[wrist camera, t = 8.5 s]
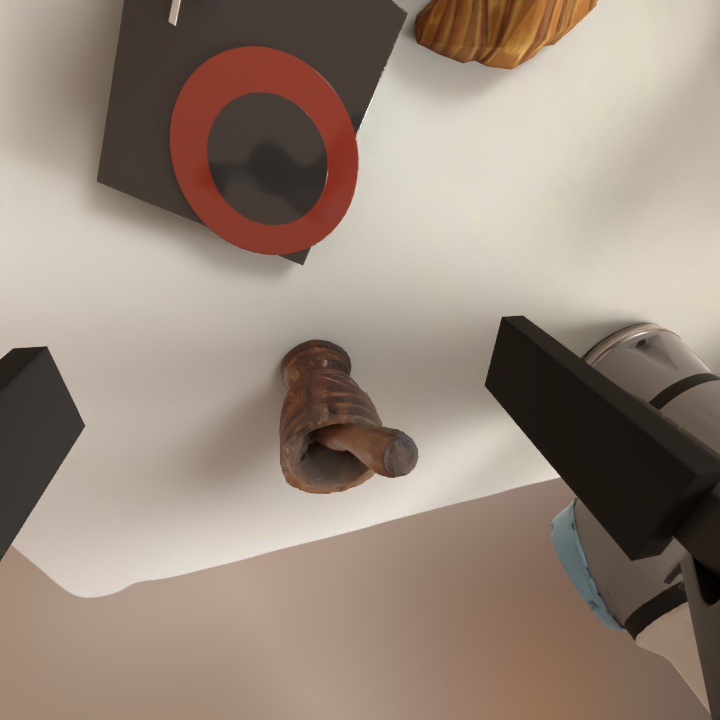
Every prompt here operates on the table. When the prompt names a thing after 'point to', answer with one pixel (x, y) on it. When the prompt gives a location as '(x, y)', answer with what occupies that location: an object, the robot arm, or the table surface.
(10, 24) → the table surface
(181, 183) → the burner
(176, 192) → the stove
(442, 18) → the croissant
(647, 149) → the table surface
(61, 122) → the table surface
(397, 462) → the mortar and pestle
